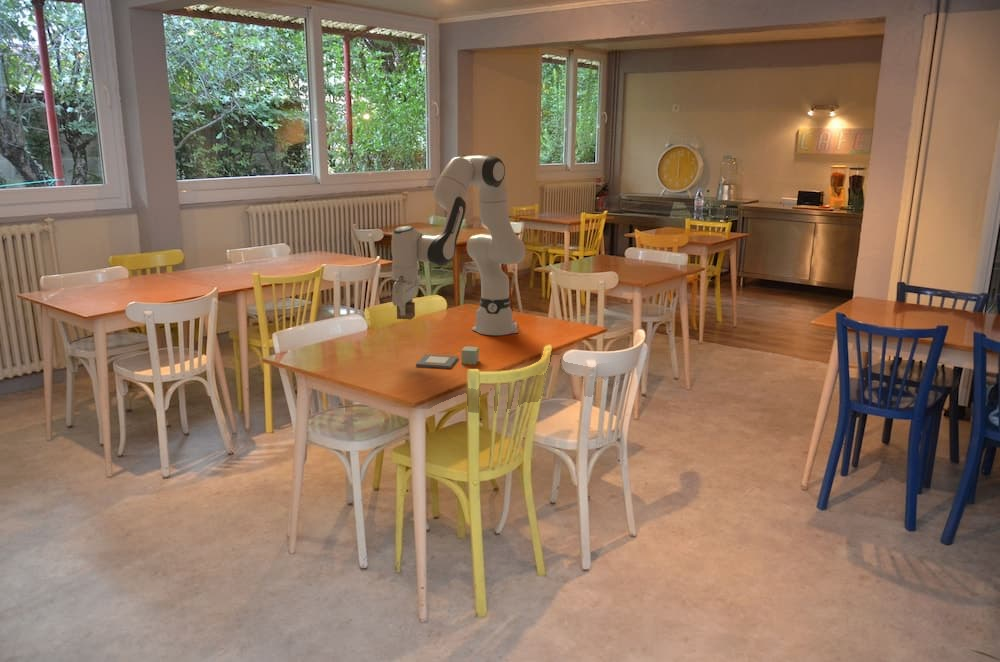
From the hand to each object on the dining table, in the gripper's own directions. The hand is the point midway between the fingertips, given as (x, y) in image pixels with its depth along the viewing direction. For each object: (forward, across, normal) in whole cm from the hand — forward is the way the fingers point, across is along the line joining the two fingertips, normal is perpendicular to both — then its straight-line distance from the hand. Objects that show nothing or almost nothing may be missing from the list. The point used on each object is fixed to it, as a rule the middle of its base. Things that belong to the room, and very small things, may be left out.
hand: (405, 312), depth 273 cm
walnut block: (+2, 0, 0) cm, 2 cm away
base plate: (+16, -3, -12) cm, 21 cm away
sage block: (+17, 0, -23) cm, 28 cm away
